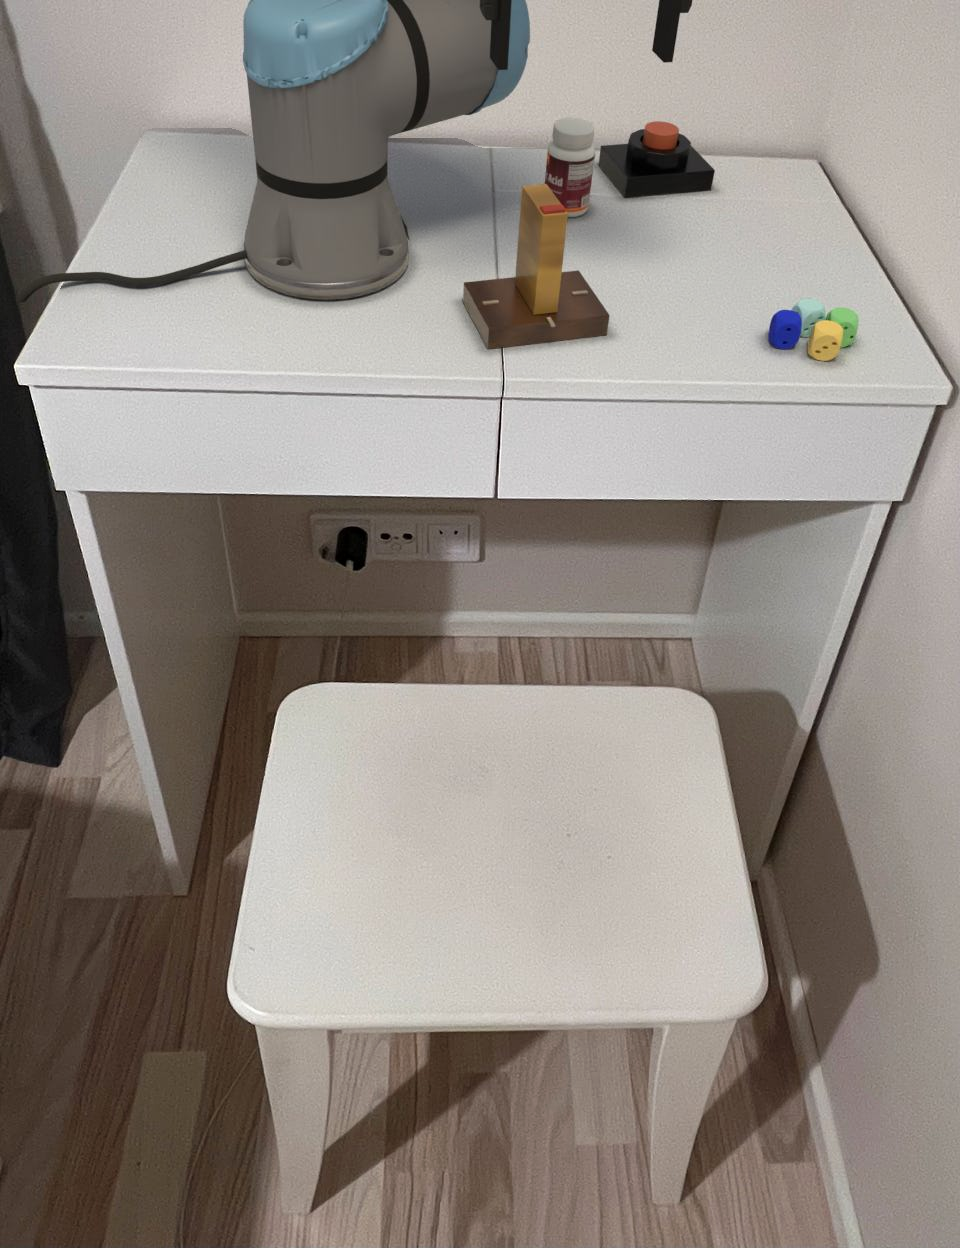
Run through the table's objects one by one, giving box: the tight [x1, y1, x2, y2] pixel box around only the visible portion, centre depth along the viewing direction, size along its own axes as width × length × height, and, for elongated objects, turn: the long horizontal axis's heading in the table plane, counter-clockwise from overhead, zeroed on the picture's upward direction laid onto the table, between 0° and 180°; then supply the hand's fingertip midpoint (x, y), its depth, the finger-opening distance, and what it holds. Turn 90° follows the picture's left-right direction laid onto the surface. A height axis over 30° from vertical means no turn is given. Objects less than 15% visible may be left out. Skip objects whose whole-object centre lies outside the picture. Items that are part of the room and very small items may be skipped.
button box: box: [598, 128, 716, 199], centre depth 120 cm, size 10×8×4 cm
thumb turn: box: [514, 183, 569, 315], centre depth 95 cm, size 6×2×9 cm, turn 16°
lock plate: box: [462, 270, 610, 350], centre depth 99 cm, size 11×10×2 cm
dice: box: [768, 298, 859, 362], centre depth 98 cm, size 8×3×6 cm
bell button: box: [643, 120, 680, 150], centre depth 118 cm, size 4×4×2 cm
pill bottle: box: [544, 117, 596, 218], centre depth 112 cm, size 5×5×8 cm
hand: (581, 60), depth 88 cm, fingers open, 13 cm apart
